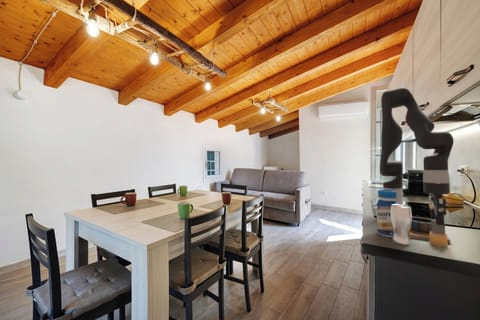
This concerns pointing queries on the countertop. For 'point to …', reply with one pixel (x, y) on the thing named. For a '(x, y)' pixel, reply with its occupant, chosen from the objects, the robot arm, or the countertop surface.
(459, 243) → the countertop surface
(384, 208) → the blue and white bottle
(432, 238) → the orange rounded block
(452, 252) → the countertop surface
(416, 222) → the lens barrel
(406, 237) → the beer glass
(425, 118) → the robot arm
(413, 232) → the wooden cutting board
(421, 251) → the countertop surface
